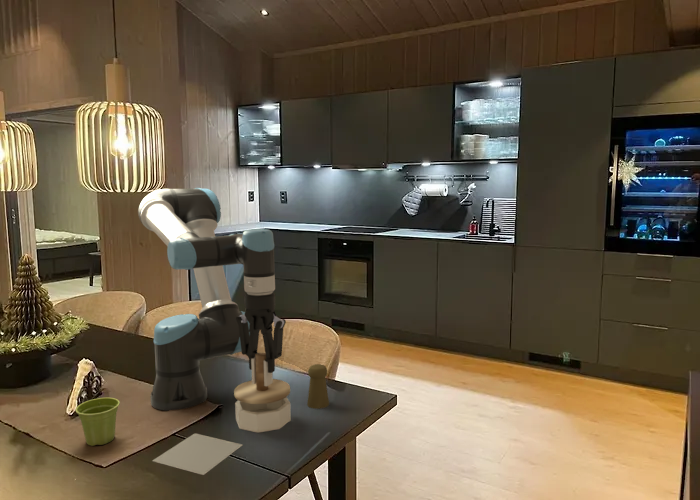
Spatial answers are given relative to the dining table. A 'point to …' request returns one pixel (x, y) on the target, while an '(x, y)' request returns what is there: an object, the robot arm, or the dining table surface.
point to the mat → (198, 453)
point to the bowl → (262, 415)
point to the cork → (317, 387)
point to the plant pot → (98, 420)
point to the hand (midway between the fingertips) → (262, 383)
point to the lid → (261, 387)
